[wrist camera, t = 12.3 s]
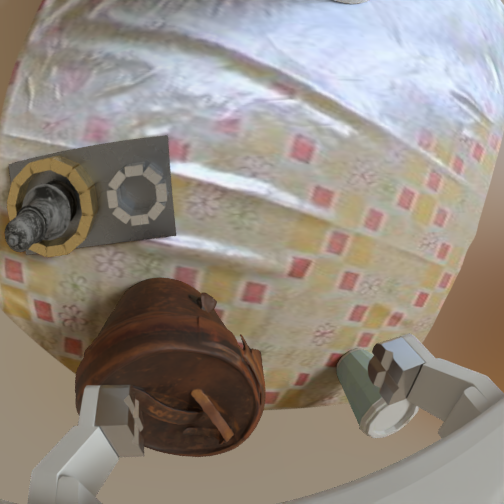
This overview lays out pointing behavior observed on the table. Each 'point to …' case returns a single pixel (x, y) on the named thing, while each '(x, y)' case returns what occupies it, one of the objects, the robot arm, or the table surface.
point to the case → (178, 369)
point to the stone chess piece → (42, 215)
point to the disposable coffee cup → (370, 397)
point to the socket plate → (103, 192)
